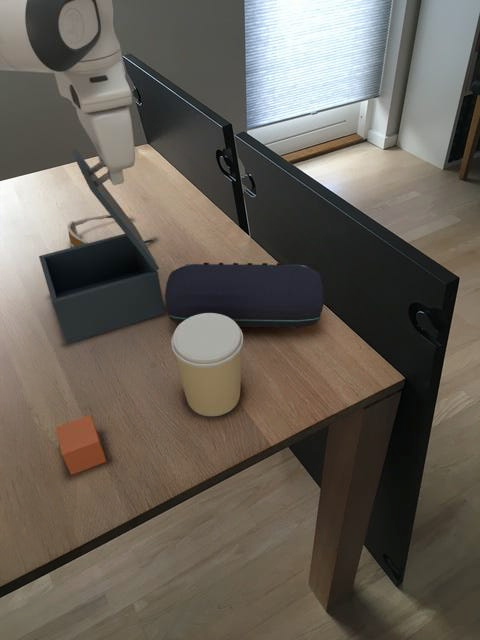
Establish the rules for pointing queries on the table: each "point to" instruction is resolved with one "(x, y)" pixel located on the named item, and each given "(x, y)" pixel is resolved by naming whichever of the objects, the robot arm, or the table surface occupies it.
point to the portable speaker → (246, 294)
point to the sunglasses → (72, 225)
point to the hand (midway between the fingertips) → (112, 173)
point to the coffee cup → (209, 362)
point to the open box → (101, 287)
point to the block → (80, 444)
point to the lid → (112, 205)
